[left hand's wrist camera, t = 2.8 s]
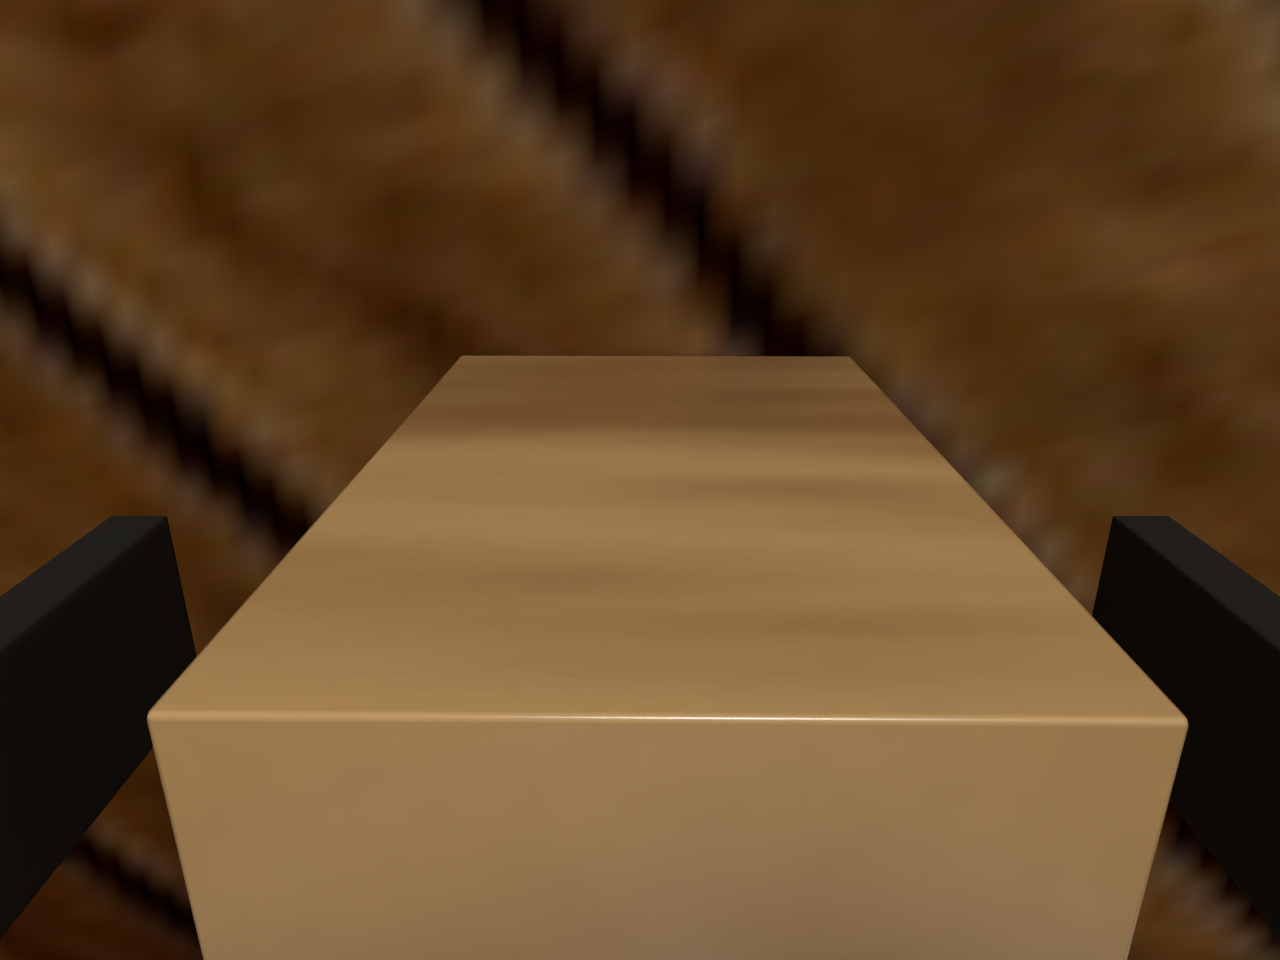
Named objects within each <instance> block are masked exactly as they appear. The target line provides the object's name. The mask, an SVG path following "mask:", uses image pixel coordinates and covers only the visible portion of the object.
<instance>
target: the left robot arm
mask: <svg viewBox="0 0 1280 960" xmlns="http://www.w3.org/2000/svg"><path fill="white" fill-rule="evenodd" d="M1092 617H1093V618H1094V619H1095V620H1096V621H1097V622H1098V623H1099V624H1100V625H1101V626H1102V628H1103V629H1104V630H1105V631H1106V632H1107V633H1108V634H1109V635H1110V636H1111V637H1112V638H1113V639H1114V640H1115V641H1116V643H1117V644H1118V645H1119V646H1120V647H1121V648H1122V649H1123V650H1124V651H1125V652H1126V653H1127V654H1128V655H1129V656H1130V658H1131V659H1132V660H1133V661H1134V662H1135V663H1136V664H1137V665H1138V666H1139V667H1140V668H1141V669H1142V670H1143V671H1144V673H1145V674H1146V675H1147V676H1148V677H1149V678H1150V679H1151V680H1152V681H1153V682H1154V683H1155V684H1156V685H1157V686H1158V688H1159V689H1160V690H1161V691H1162V692H1163V693H1164V694H1165V695H1166V696H1167V697H1168V698H1169V699H1170V700H1171V702H1172V703H1173V704H1174V705H1175V706H1176V707H1177V708H1178V709H1179V710H1180V711H1181V712H1182V713H1183V714H1184V715H1185V717H1186V718H1187V721H1188V730H1187V734H1186V737H1185V741H1184V745H1183V749H1182V753H1181V756H1180V760H1179V764H1178V768H1177V772H1176V775H1175V779H1174V783H1173V787H1172V790H1171V794H1170V798H1169V800H1170V802H1171V803H1172V804H1173V805H1174V807H1175V808H1176V809H1177V811H1178V812H1179V813H1180V814H1181V816H1182V817H1183V818H1184V819H1185V821H1186V822H1187V823H1188V824H1189V826H1190V827H1191V828H1192V829H1193V831H1194V832H1195V833H1196V834H1197V836H1198V837H1199V838H1200V839H1201V841H1202V842H1203V843H1204V844H1205V846H1206V847H1207V848H1208V849H1209V851H1210V852H1211V853H1212V855H1213V856H1214V857H1215V858H1216V860H1217V861H1218V862H1219V863H1220V865H1221V866H1222V867H1223V868H1224V870H1225V871H1226V872H1227V873H1228V875H1229V876H1230V877H1231V878H1232V880H1233V881H1234V882H1235V883H1236V885H1237V886H1238V887H1239V888H1240V890H1241V891H1242V892H1243V894H1244V895H1245V896H1246V897H1247V899H1248V900H1249V901H1250V902H1251V904H1252V905H1253V906H1254V907H1255V909H1256V910H1257V911H1258V912H1259V914H1260V915H1261V916H1262V917H1263V919H1264V920H1265V921H1266V922H1267V924H1268V925H1269V926H1270V927H1271V929H1272V930H1273V931H1274V932H1275V934H1276V935H1277V936H1278V938H1279V939H1280V597H1279V596H1278V595H1277V594H1275V593H1274V592H1273V591H1271V590H1270V589H1268V588H1267V587H1266V586H1264V585H1263V584H1261V583H1260V582H1259V581H1257V580H1256V579H1255V578H1253V577H1252V576H1250V575H1249V574H1248V573H1246V572H1245V571H1243V570H1242V569H1241V568H1239V567H1238V566H1237V565H1235V564H1234V563H1232V562H1231V561H1230V560H1228V559H1227V558H1225V557H1224V556H1223V555H1221V554H1220V553H1219V552H1217V551H1216V550H1214V549H1213V548H1212V547H1210V546H1209V545H1207V544H1206V543H1205V542H1203V541H1202V540H1201V539H1199V538H1198V537H1196V536H1195V535H1194V534H1192V533H1191V532H1189V531H1188V530H1187V529H1185V528H1184V527H1183V526H1181V525H1180V524H1178V523H1177V522H1176V521H1174V520H1173V519H1171V518H1170V517H1169V516H1113V519H1112V524H1111V529H1110V533H1109V538H1108V543H1107V548H1106V552H1105V557H1104V562H1103V567H1102V571H1101V576H1100V581H1099V586H1098V590H1097V595H1096V600H1095V604H1094V609H1093V614H1092ZM195 658H196V652H195V647H194V642H193V638H192V633H191V628H190V623H189V619H188V614H187V609H186V605H185V600H184V595H183V590H182V586H181V581H180V576H179V571H178V567H177V562H176V557H175V552H174V548H173V543H172V538H171V533H170V529H169V524H168V519H167V516H111V517H110V518H109V519H107V520H106V521H104V522H103V523H102V524H100V525H99V526H97V527H96V528H95V529H93V530H92V531H91V532H89V533H88V534H86V535H85V536H84V537H82V538H81V539H79V540H78V541H77V542H75V543H74V544H73V545H71V546H70V547H68V548H67V549H66V550H64V551H63V552H61V553H60V554H59V555H57V556H56V557H55V558H53V559H52V560H50V561H49V562H48V563H46V564H45V565H43V566H42V567H41V568H39V569H38V570H37V571H35V572H34V573H32V574H31V575H30V576H28V577H27V578H25V579H24V580H23V581H21V582H20V583H19V584H17V585H16V586H14V587H13V588H12V589H10V590H9V591H7V592H6V593H5V594H3V595H2V596H1V597H0V939H1V938H2V936H3V935H4V934H5V932H6V931H7V930H8V929H9V927H10V926H11V925H12V924H13V922H14V921H15V920H16V919H17V917H18V916H19V915H20V914H21V912H22V911H23V910H24V909H25V907H26V906H27V905H28V904H29V902H30V901H31V900H32V899H33V897H34V896H35V895H36V894H37V892H38V891H39V890H40V888H41V887H42V886H43V885H44V883H45V882H46V881H47V880H48V878H49V877H50V876H51V875H52V873H53V872H54V871H55V870H56V868H57V867H58V866H59V865H60V863H61V862H62V861H63V860H64V858H65V857H66V856H67V855H68V853H69V852H70V851H71V849H72V848H73V847H74V846H75V844H76V843H77V842H78V841H79V839H80V838H81V837H82V836H83V834H84V833H85V832H86V831H87V829H88V828H89V827H90V826H91V824H92V823H93V822H94V821H95V819H96V818H97V817H98V816H99V814H100V813H101V812H102V811H103V809H104V808H105V807H106V805H107V804H108V803H109V802H110V800H111V799H112V798H113V797H114V795H115V794H116V793H117V792H118V790H119V789H120V788H121V787H122V785H123V784H124V783H125V782H126V780H127V779H128V778H129V777H130V775H131V774H132V773H133V772H134V770H135V769H136V768H137V766H138V765H139V764H140V763H141V761H142V760H143V759H144V758H145V756H146V755H147V754H148V753H149V751H150V750H151V749H152V748H153V744H152V739H151V735H150V731H149V727H148V722H147V716H148V713H149V710H150V709H151V708H152V707H153V706H154V705H155V704H156V702H157V701H158V700H159V699H160V698H161V697H162V696H163V695H164V693H165V692H166V691H167V690H168V689H169V688H170V687H171V685H172V684H173V683H174V682H175V681H176V680H177V679H178V677H179V676H180V675H181V674H182V673H183V672H184V671H185V670H186V668H187V667H188V666H189V665H190V664H191V663H192V662H193V660H194V659H195Z"/></svg>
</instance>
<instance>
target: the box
mask: <svg viewBox="0 0 1280 960" xmlns="http://www.w3.org/2000/svg"><path fill="white" fill-rule="evenodd" d="M147 722H148V727H149V731H150V735H151V739H152V744H153V748H154V752H155V756H156V761H157V765H158V769H159V773H160V777H161V782H162V786H163V790H164V794H165V799H166V803H167V807H168V811H169V816H170V820H171V824H172V828H173V832H174V837H175V841H176V845H177V849H178V854H179V858H180V862H181V866H182V871H183V875H184V879H185V883H186V888H187V892H188V896H189V900H190V904H191V909H192V913H193V917H194V921H195V926H196V930H197V934H198V938H199V943H200V947H201V951H202V955H203V960H1127V957H1128V954H1129V950H1130V946H1131V942H1132V938H1133V935H1134V931H1135V927H1136V923H1137V920H1138V916H1139V912H1140V908H1141V904H1142V901H1143V897H1144V893H1145V889H1146V885H1147V882H1148V878H1149V874H1150V870H1151V866H1152V863H1153V859H1154V855H1155V851H1156V847H1157V844H1158V840H1159V836H1160V832H1161V828H1162V825H1163V821H1164V817H1165V813H1166V809H1167V806H1168V802H1169V798H1170V794H1171V790H1172V787H1173V783H1174V779H1175V775H1176V772H1177V768H1178V764H1179V760H1180V756H1181V753H1182V749H1183V745H1184V741H1185V737H1186V734H1187V730H1188V721H1187V718H1186V717H1185V715H1184V714H1183V713H1182V712H1181V711H1180V710H1179V709H1178V708H1177V707H1176V706H1175V705H1174V704H1173V703H1172V702H1171V700H1170V699H1169V698H1168V697H1167V696H1166V695H1165V694H1164V693H1163V692H1162V691H1161V690H1160V689H1159V688H1158V686H1157V685H1156V684H1155V683H1154V682H1153V681H1152V680H1151V679H1150V678H1149V677H1148V676H1147V675H1146V674H1145V673H1144V671H1143V670H1142V669H1141V668H1140V667H1139V666H1138V665H1137V664H1136V663H1135V662H1134V661H1133V660H1132V659H1131V658H1130V656H1129V655H1128V654H1127V653H1126V652H1125V651H1124V650H1123V649H1122V648H1121V647H1120V646H1119V645H1118V644H1117V643H1116V641H1115V640H1114V639H1113V638H1112V637H1111V636H1110V635H1109V634H1108V633H1107V632H1106V631H1105V630H1104V629H1103V628H1102V626H1101V625H1100V624H1099V623H1098V622H1097V621H1096V620H1095V619H1094V618H1093V617H1092V616H1091V615H1090V614H1089V613H1088V611H1087V610H1086V609H1085V608H1084V607H1083V606H1082V605H1081V604H1080V603H1079V602H1078V601H1077V600H1076V599H1075V598H1074V596H1073V595H1072V594H1071V593H1070V592H1069V591H1068V590H1067V589H1066V588H1065V587H1064V586H1063V585H1062V584H1061V583H1060V581H1059V580H1058V579H1057V578H1056V577H1055V576H1054V575H1053V574H1052V573H1051V572H1050V571H1049V570H1048V569H1047V568H1046V566H1045V565H1044V564H1043V563H1042V562H1041V561H1040V560H1039V559H1038V558H1037V557H1036V556H1035V555H1034V554H1033V553H1032V551H1031V550H1030V549H1029V548H1028V547H1027V546H1026V545H1025V544H1024V543H1023V542H1022V541H1021V540H1020V539H1019V538H1018V536H1017V535H1016V534H1015V533H1014V532H1013V531H1012V530H1011V529H1010V528H1009V527H1008V526H1007V525H1006V524H1005V523H1004V521H1003V520H1002V519H1001V518H1000V517H999V516H998V515H997V514H996V513H995V512H994V511H993V510H992V509H991V508H990V506H989V505H988V504H987V503H986V502H985V501H984V500H983V499H982V498H981V497H980V496H979V495H978V494H977V493H976V491H975V490H974V489H973V488H972V487H971V486H970V485H969V484H968V483H967V482H966V481H965V480H964V479H963V478H962V476H961V475H960V474H959V473H958V472H957V471H956V470H955V469H954V468H953V467H952V466H951V465H950V464H949V463H948V461H947V460H946V459H945V458H944V457H943V456H942V455H941V454H940V453H939V452H938V451H937V450H936V449H935V448H934V446H933V445H932V444H931V443H930V442H929V441H928V440H927V439H926V438H925V437H924V436H923V435H922V434H921V432H920V431H919V430H918V429H917V428H916V427H915V426H914V425H913V424H912V423H911V422H910V421H909V420H908V419H907V417H906V416H905V415H904V414H903V413H902V412H901V411H900V410H899V409H898V408H897V407H896V406H895V405H894V404H893V402H892V401H891V400H890V399H889V398H888V397H887V396H886V395H885V394H884V393H883V392H882V391H881V390H880V389H879V387H878V386H877V385H876V384H875V383H874V382H873V381H872V380H871V379H870V378H869V377H868V376H867V375H866V374H865V372H864V371H863V370H862V369H861V368H860V367H859V366H858V365H857V364H856V363H855V362H854V361H853V360H852V359H851V358H850V357H812V356H461V357H460V358H459V359H458V360H457V361H456V363H455V364H454V365H453V366H452V367H451V368H450V369H449V371H448V372H447V373H446V374H445V375H444V376H443V377H442V378H441V380H440V381H439V382H438V383H437V384H436V385H435V386H434V388H433V389H432V390H431V391H430V392H429V393H428V394H427V396H426V397H425V398H424V399H423V400H422V401H421V402H420V403H419V405H418V406H417V407H416V408H415V409H414V410H413V411H412V413H411V414H410V415H409V416H408V417H407V418H406V419H405V421H404V422H403V423H402V424H401V425H400V426H399V427H398V428H397V430H396V431H395V432H394V433H393V434H392V435H391V436H390V438H389V439H388V440H387V441H386V442H385V443H384V444H383V446H382V447H381V448H380V449H379V450H378V451H377V452H376V454H375V455H374V456H373V457H372V458H371V459H370V460H369V461H368V463H367V464H366V465H365V466H364V467H363V468H362V469H361V471H360V472H359V473H358V474H357V475H356V476H355V477H354V479H353V480H352V481H351V482H350V483H349V484H348V485H347V486H346V488H345V489H344V490H343V491H342V492H341V493H340V494H339V496H338V497H337V498H336V499H335V500H334V501H333V502H332V504H331V505H330V506H329V507H328V508H327V509H326V510H325V511H324V513H323V514H322V515H321V516H320V517H319V518H318V519H317V521H316V522H315V523H314V524H313V525H312V526H311V527H310V529H309V530H308V531H307V532H306V533H305V534H304V535H303V536H302V538H301V539H300V540H299V541H298V542H297V543H296V544H295V546H294V547H293V548H292V549H291V550H290V551H289V552H288V554H287V555H286V556H285V557H284V558H283V559H282V560H281V562H280V563H279V564H278V565H277V566H276V567H275V568H274V569H273V571H272V572H271V573H270V574H269V575H268V576H267V577H266V579H265V580H264V581H263V582H262V583H261V584H260V585H259V587H258V588H257V589H256V590H255V591H254V592H253V593H252V594H251V596H250V597H249V598H248V599H247V600H246V601H245V602H244V604H243V605H242V606H241V607H240V608H239V609H238V610H237V612H236V613H235V614H234V615H233V616H232V617H231V618H230V619H229V621H228V622H227V623H226V624H225V625H224V626H223V627H222V629H221V630H220V631H219V632H218V633H217V634H216V635H215V637H214V638H213V639H212V640H211V641H210V642H209V643H208V645H207V646H206V647H205V648H204V649H203V650H202V651H201V652H200V654H199V655H198V656H197V657H196V658H195V659H194V660H193V662H192V663H191V664H190V665H189V666H188V667H187V668H186V670H185V671H184V672H183V673H182V674H181V675H180V676H179V677H178V679H177V680H176V681H175V682H174V683H173V684H172V685H171V687H170V688H169V689H168V690H167V691H166V692H165V693H164V695H163V696H162V697H161V698H160V699H159V700H158V701H157V702H156V704H155V705H154V706H153V707H152V708H151V709H150V710H149V713H148V716H147Z"/></svg>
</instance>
